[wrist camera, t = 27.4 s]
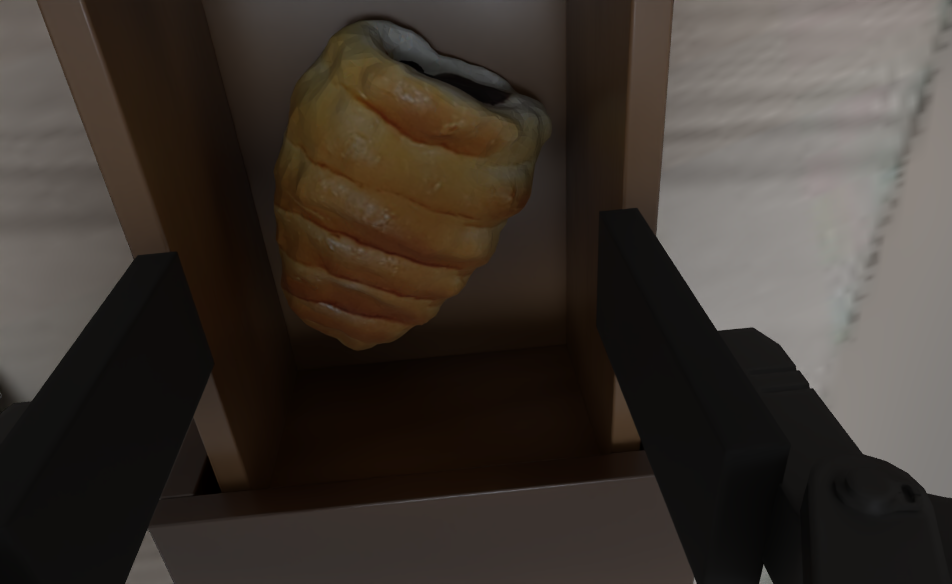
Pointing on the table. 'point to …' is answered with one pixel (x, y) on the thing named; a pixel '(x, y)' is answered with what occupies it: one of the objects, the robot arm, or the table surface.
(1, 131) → the table surface
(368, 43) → the pastry
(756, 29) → the table surface
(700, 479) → the robot arm
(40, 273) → the table surface
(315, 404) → the drawer
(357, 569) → the cabinet
